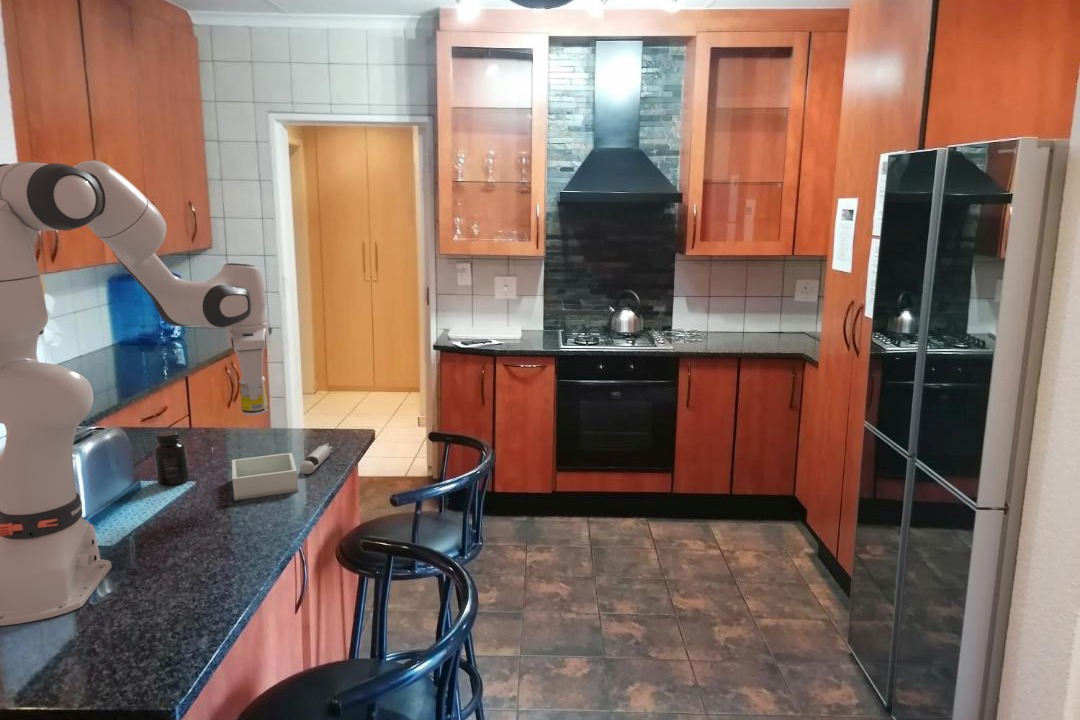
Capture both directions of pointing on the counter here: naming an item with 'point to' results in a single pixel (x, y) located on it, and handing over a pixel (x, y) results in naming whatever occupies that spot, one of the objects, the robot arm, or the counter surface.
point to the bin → (264, 476)
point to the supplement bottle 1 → (171, 459)
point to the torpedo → (315, 459)
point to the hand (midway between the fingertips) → (253, 395)
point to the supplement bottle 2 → (253, 405)
